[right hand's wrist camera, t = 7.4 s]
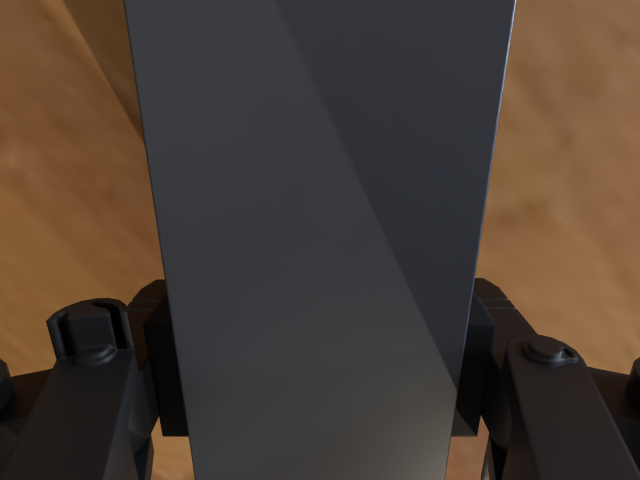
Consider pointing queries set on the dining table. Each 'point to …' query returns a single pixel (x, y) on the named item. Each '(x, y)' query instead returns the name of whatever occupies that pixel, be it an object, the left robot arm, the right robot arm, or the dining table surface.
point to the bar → (319, 222)
